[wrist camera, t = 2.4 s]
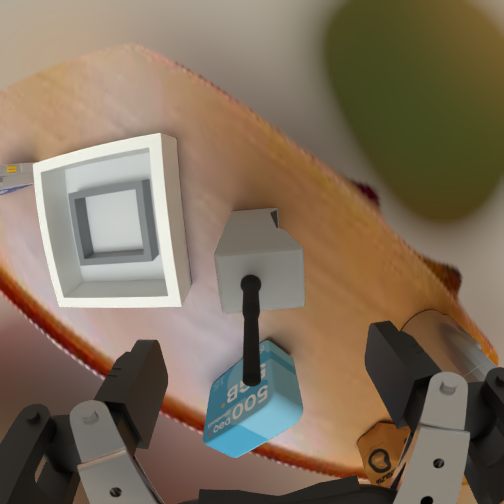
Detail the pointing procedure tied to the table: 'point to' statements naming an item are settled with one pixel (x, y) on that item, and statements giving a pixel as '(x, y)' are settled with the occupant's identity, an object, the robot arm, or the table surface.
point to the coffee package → (382, 451)
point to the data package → (253, 404)
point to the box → (115, 224)
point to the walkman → (15, 176)
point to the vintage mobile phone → (257, 275)
